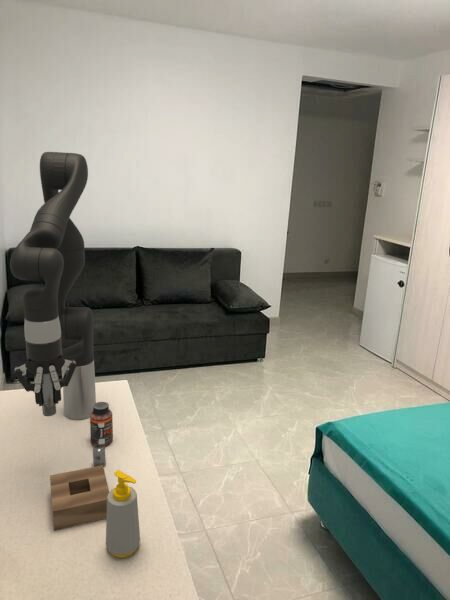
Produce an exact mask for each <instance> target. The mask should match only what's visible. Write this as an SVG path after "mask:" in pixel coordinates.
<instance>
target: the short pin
mask: <svg viewBox="0 0 450 600" xmlns="http://www.w3.org/2000/svg"><path fill="white" fill-rule="evenodd" d="M92 457H93V458H92V459H93V461H92V462H93V463H92V464H93V467H96V466H101V465H103V468H104V467H106V460H107V459H106V446H103V445H96V446H94V445H93V447H92Z"/></svg>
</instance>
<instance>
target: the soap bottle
mask: <svg viewBox="0 0 450 600" xmlns="http://www.w3.org/2000/svg"><path fill="white" fill-rule="evenodd" d="M114 476H115V477H117V482H118V483H117V484H116V486H115V487H114V488H112V489H110V490H109V493H108V496H107V518H106V521H105V522H106V523H105V524H106V526H105V546H106V549H107V550H108V551H109V553H110V554H111V555H112V556H114V557H115V558H121V559H124V558H126V557H130V556H131V555H132V554H134V553H135V552H136V551H137V548H138V547H139V546H140V542H141V533H140V531H141V530H140V519H139V518H140V517H139V505H138V493H137V491H136V489H134V488H133V487H131V486H129V485H128V483H129V484H133V485H134V484H136V482H137V480H136V479H135V478H133V477H132V476H130V475H128V474H127V473H124V472H123V471H121V470H119V469H117V470H115V471H114Z"/></svg>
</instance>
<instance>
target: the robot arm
mask: <svg viewBox="0 0 450 600" xmlns="http://www.w3.org/2000/svg"><path fill="white" fill-rule="evenodd" d="M39 177H40V184H41V190H42V197H43V202H44V203H43V204H42V205H41V207H40V208H38V210H37V211H36V214H35V215H34V218H33V222H32V224H31V227H30V229H29V231H28V232H27V234H26V235H25V236H24V237H23V239H21V241H20V242H19V243H18V244H17V245H16V246H15V248H14V250H13V251H12V253H11V257H10V260H9V268H10V272H11V274H12V275H13V277H14V278H16V279H18V280H21V281H32V282H33V281H35V282H36V281H37V282H38V281H39V282H41V281H42V282H45V284H44V286H42V287H38V288H33V289H29V290H27V291H25V292H24V294H23V297H22V303H23V305H22V306H23V313H24V325H23V327H24V328H23V329H24V338H25V341H24V342H25V349H26V360H25V362H24V364H21V365H20V366H19V365H16V366H15V367H14V376H15V377H16V378H17V380H18V381H19V382H20V384H21V385H22V387H23V389H24V390H25V392H27V393H28V392H33V394H34V399H35V400H34V401H35V404H36V405H38V406H39V407H42V396H41V387H40V385H41V379H42V374H44V373H51V376H52V380H53V383H54V392H55V404H56V405H57V404H59V402H61V401H62V394H63V407H64V408H63V409H64V416H65V417H66V418H68V419H71V420H76V421H77V420H85V419H88V418H89V419H90V413H91V412H92V411H93V405H94V404H95V403H97V402H96V401H97V396H96V374H95V353H94V352H95V350H94V326H95V325H94V313H93V311H92V309H91V308H90V307H87V306H79V307H77V306H74V307H70V306H69V307H67V306H66V299H67V297H68V295H69V292H70V291H71V288H72V287H73V285H74V283H75V282H76V281H77V280H78V277H79V276H80V275H81V273H82V271H83V269H84V267H85V264H86V253H85V239H84V238H83V235H82V233H81V232H80V230H79V229H78V227H77V226H76V224H75V223H74V221H73V220H72V219H71V215H72V214H73V211H74V210H75V208H76V205H77V204H78V202H79V200H80V199H81V196H82V194H83V193H84V190H85V189H86V186H87V184H88V178H89V167H88V163H87V159H86V158H85V156H84V155H83V154H80V153H76V152H58V151H45V152H43V153H42V154H41V156H40V159H39ZM64 340H65V341H68V340H69V341H73V340H75V341H77V340H78V341H79V340H80V341H79V342H77V343H75V344H72V345H71V346H67V347H66V348H64V349H63V346H62V345H63V344H62V341H64ZM27 370H28V372H30V373H31V374H32V375H33V376H34V381H33V383H32V382H31V381H30V380H29V378H28V376H27ZM60 371H61V379H60V378H59V374H58V373H59V372H60ZM61 391H62V392H61Z"/></svg>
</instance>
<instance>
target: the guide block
mask: <svg viewBox="0 0 450 600" xmlns="http://www.w3.org/2000/svg"><path fill="white" fill-rule="evenodd" d="M49 481H50V483H49V484H50V494H51V507H52V509H51V510H52V521H53V531H58V530H63V529H66V528H71V527H74V526H80V525H83V524H89V523H93V522H97V521H100V520H101V521H102V520H105V519H107V496H108V493H109V492H110V490H109V486H108V485H109V484H108V481H107V477H106V473H105V469H104V467H103V465H101V466H96V467H94V466H91V467H87V468H82V469H81V468H80V469H76V470H70V471H66V472H60V473H55V474H50V475H49Z"/></svg>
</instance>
